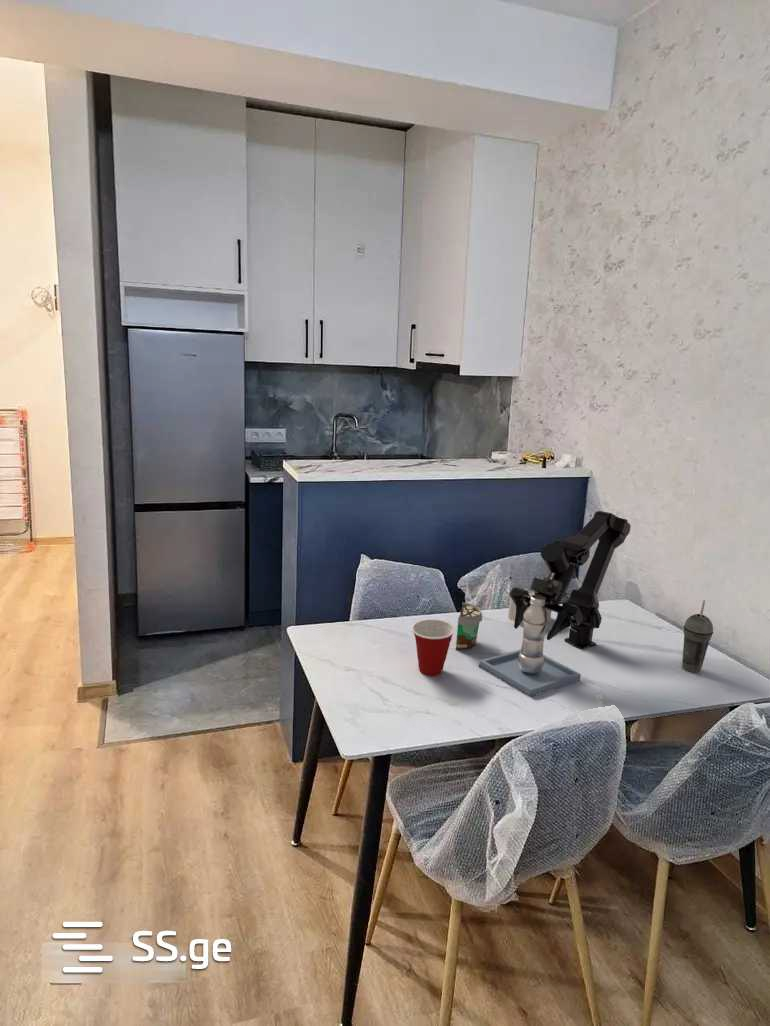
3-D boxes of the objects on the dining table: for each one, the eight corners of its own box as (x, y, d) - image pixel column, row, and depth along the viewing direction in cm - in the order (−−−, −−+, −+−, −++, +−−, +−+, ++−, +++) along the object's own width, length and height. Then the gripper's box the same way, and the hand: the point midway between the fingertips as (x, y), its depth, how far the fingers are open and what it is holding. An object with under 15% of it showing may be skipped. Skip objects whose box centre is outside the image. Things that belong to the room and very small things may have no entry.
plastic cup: (399, 667, 177) (402, 623, 174) (431, 658, 183) (435, 615, 180) (427, 685, 168) (431, 638, 166) (460, 674, 175) (464, 630, 172)
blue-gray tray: (527, 653, 190) (528, 647, 190) (579, 680, 176) (580, 674, 175) (478, 666, 180) (479, 660, 180) (529, 697, 166) (530, 690, 165)
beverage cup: (704, 666, 189) (717, 597, 184) (707, 678, 182) (720, 606, 177) (675, 661, 191) (687, 592, 186) (677, 672, 184) (689, 601, 180)
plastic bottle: (517, 675, 175) (526, 600, 171) (516, 664, 182) (524, 591, 177) (543, 678, 174) (553, 603, 170) (541, 666, 181) (549, 593, 176)
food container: (477, 655, 187) (481, 620, 185) (455, 651, 188) (458, 617, 186) (481, 637, 199) (484, 604, 196) (459, 634, 200) (462, 601, 198)
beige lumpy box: (503, 616, 217) (506, 589, 215) (537, 611, 222) (540, 585, 220) (524, 628, 208) (527, 601, 206) (558, 623, 213) (561, 596, 211)
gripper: (516, 556, 180) (489, 606, 175) (583, 575, 168) (556, 629, 163) (528, 579, 188) (502, 628, 182) (593, 598, 176) (568, 651, 170)
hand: (531, 633), depth 174 cm, fingers open, 9 cm apart
